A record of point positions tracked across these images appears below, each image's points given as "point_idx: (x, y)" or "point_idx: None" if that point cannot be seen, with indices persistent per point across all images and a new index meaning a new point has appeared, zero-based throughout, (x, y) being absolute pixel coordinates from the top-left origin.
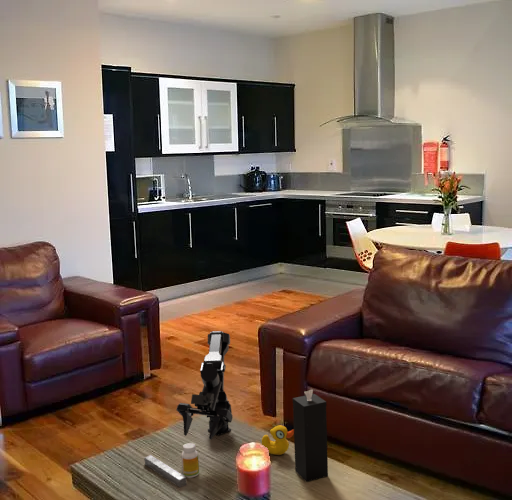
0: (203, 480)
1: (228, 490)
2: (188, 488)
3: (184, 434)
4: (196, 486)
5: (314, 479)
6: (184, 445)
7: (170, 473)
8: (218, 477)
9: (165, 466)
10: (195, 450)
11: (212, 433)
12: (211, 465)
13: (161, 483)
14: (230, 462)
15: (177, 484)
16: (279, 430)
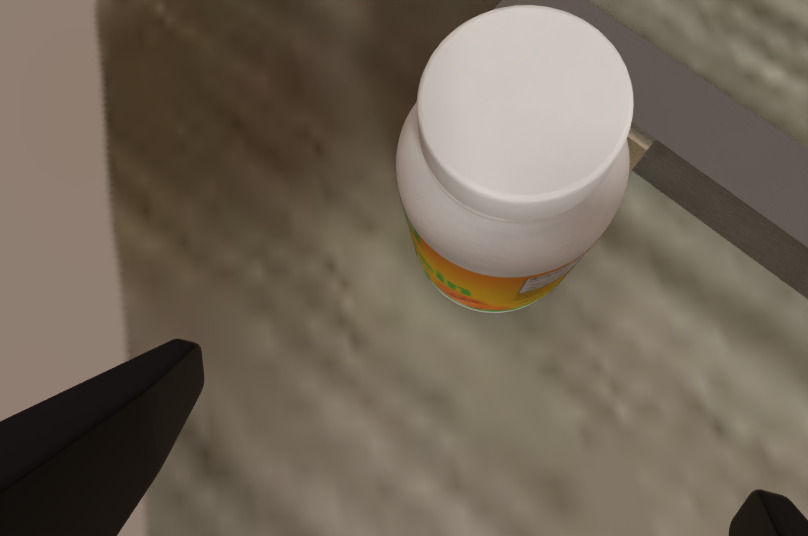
0: (351, 137)
1: (131, 17)
2: (449, 9)
3: (773, 495)
4: (390, 43)
5: None
6: (610, 91)
7: (665, 63)
8: (231, 197)
9: (782, 194)
10: (435, 192)
11: (84, 388)
12: (329, 415)
13: (712, 56)
14: (149, 489)
15: None
16: None
